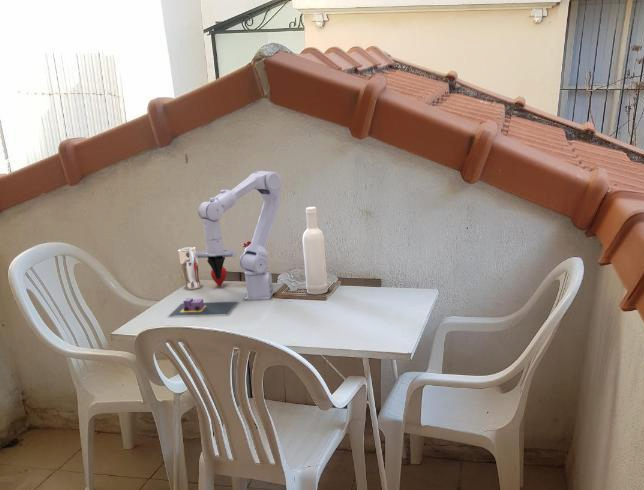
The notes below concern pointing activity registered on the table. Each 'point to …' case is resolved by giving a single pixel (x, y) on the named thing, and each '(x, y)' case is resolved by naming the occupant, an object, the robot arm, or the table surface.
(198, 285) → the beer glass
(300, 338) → the table surface
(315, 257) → the bottle
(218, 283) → the decorative fruit
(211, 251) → the robot arm
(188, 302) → the toy truck
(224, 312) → the play mat
